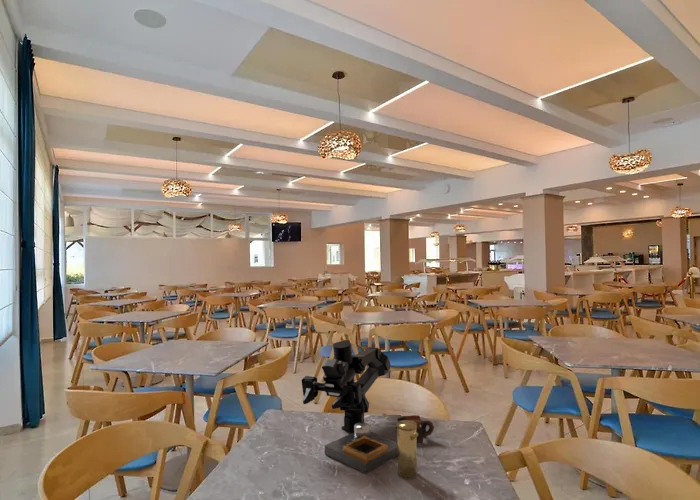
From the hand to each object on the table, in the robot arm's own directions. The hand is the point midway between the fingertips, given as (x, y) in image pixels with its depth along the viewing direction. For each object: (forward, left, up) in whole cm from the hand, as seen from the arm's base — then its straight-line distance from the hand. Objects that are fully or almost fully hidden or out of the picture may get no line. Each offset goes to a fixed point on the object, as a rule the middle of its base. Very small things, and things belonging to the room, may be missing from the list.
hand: (317, 404), depth 114 cm
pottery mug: (-31, +11, -16) cm, 37 cm away
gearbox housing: (-13, +6, -16) cm, 21 cm away
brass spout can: (-12, +23, -16) cm, 30 cm away
